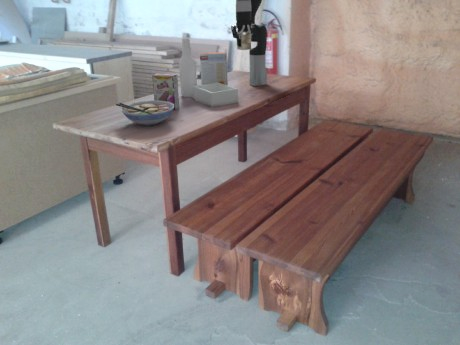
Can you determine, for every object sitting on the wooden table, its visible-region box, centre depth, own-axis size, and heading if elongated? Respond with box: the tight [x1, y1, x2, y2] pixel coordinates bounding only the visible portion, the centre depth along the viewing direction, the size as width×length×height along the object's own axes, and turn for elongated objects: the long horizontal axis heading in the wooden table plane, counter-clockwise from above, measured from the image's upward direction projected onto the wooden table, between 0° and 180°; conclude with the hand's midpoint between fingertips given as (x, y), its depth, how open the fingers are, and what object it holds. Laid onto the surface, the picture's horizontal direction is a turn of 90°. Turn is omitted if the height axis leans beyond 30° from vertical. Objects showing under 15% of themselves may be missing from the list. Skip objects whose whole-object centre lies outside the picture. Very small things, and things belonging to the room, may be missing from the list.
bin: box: [192, 83, 239, 108], centre depth 230 cm, size 15×19×7 cm
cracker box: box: [199, 51, 229, 86], centre depth 248 cm, size 14×6×21 cm, turn 84°
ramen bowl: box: [115, 99, 174, 126], centre depth 196 cm, size 25×23×8 cm
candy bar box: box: [152, 73, 180, 111], centre depth 217 cm, size 11×5×16 cm, turn 71°
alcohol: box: [178, 37, 198, 98], centre depth 238 cm, size 9×9×30 cm
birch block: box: [236, 33, 252, 51], centre depth 226 cm, size 5×5×7 cm
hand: (244, 46), depth 227 cm, fingers closed on birch block, 5 cm apart
